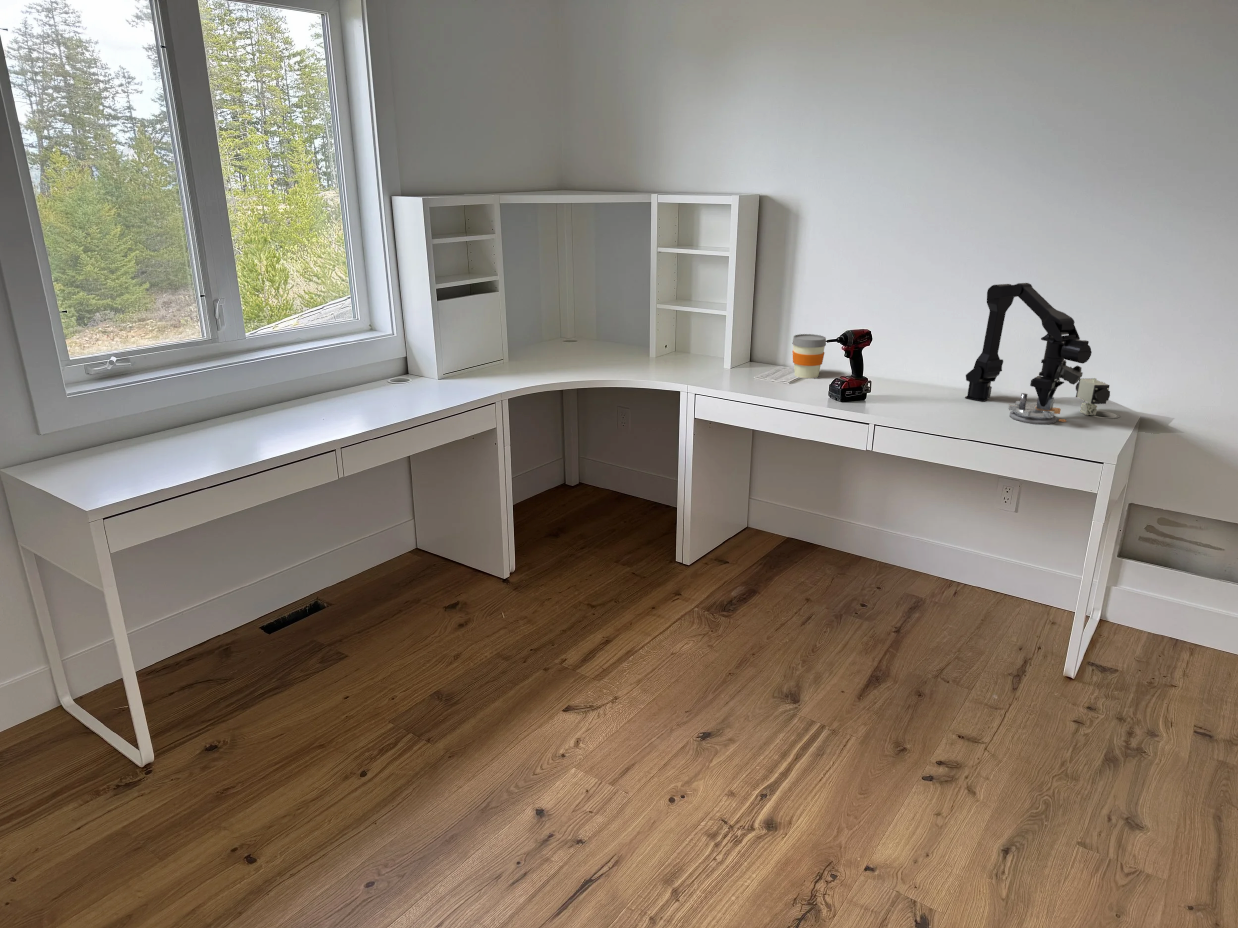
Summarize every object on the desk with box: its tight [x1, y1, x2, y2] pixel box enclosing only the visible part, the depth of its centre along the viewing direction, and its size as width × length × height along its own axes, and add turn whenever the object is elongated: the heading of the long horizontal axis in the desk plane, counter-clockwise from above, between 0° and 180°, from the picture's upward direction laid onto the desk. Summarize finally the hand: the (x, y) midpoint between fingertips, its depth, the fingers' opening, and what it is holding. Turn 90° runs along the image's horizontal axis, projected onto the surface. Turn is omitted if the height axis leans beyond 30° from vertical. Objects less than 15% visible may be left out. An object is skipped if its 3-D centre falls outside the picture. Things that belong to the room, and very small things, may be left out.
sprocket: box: [1007, 392, 1062, 420], centre depth 265 cm, size 14×15×7 cm
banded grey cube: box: [1036, 396, 1055, 410], centre depth 264 cm, size 4×3×4 cm
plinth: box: [1009, 410, 1067, 425], centre depth 266 cm, size 16×14×1 cm
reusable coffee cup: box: [791, 333, 827, 379], centre depth 317 cm, size 13×13×15 cm
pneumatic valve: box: [1075, 377, 1111, 416], centre depth 270 cm, size 6×12×12 cm, turn 4°
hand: (1045, 404), depth 264 cm, fingers open, 5 cm apart
